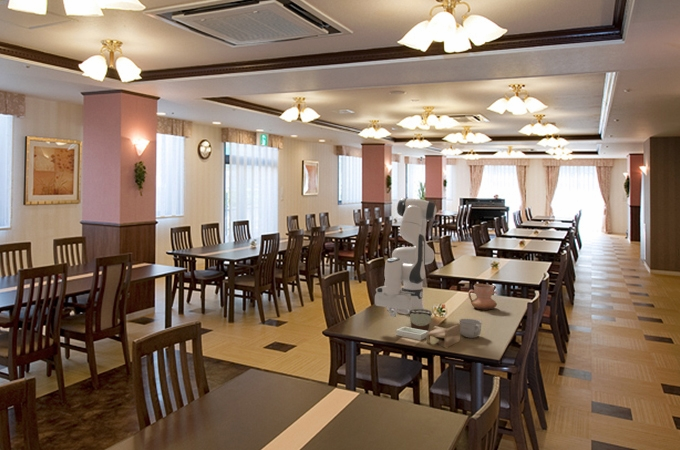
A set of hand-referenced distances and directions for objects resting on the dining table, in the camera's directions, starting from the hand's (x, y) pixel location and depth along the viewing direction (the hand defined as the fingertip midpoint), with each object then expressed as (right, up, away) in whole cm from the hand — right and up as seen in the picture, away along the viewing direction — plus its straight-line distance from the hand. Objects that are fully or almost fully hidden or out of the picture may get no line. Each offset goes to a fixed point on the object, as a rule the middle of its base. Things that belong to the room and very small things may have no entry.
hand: (392, 316), depth 263 cm
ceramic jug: (+61, -5, +53) cm, 81 cm away
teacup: (+38, -9, -8) cm, 40 cm away
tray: (+9, -9, -6) cm, 14 cm away
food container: (+16, -8, +7) cm, 19 cm away
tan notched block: (+21, -9, -15) cm, 27 cm away
